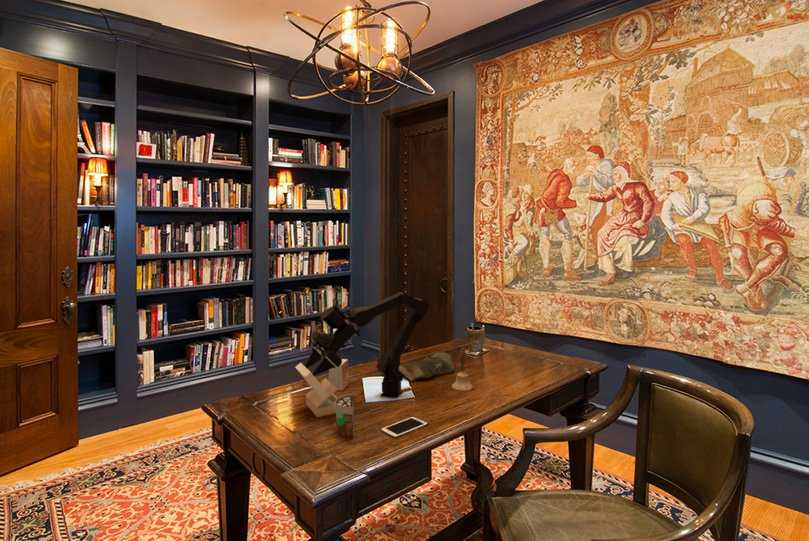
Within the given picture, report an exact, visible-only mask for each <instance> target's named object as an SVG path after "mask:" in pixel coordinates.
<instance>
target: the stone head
mask: <svg viewBox="0 0 809 541" xmlns="http://www.w3.org/2000/svg"><path fill="white" fill-rule="evenodd" d="M454 369H455V366H454V362H453V360H452V355H451V354H450V353H448V352H443V351H441V352H435V353H434V354H433V355H431V356H427V357H425V358H423V359H422V360H415V361H407V362H405V363H402V364H401V363H400V366H399V369H398V371H399V372H401V373H402V374H403V375H404V377H406V378H407V379H408V380H409V382H411V383H412V382H415V381H417V380H418V379H430V378H432V377H433V376H434V375H435V376H438V377H439V376H441V375H448V374H451V373H453V372H454Z"/></svg>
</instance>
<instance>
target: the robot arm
mask: <svg viewBox="0 0 809 541" xmlns="http://www.w3.org/2000/svg"><path fill="white" fill-rule="evenodd" d="M401 305H404V307H406V312H405V314H406V315H405V318H404V321H403V323H402V324H401V326H400V329H399V330H398V332H397V334H396V336H395V339H394V340H393V342H392V344H391V346H390V348H389V349H388V350H387V352H386V353H383V352H381V354H380V356H379V358H378V360H377V361H376V370H377V371H378V373H380V375H381V377H383V378H382V382H381V394H380V396H382V397H387V398H393V399H397V398H398V397H400V396H401V395H402V394H403V393H404V392H403V390H402V381H403V380H404V377H405V376H404V375H403V374H402V373H401V372H399V371H398V369H399V366H400V365H401V356H402V354H403V352H404V350H405V348H406V346H407V344H408V342H409V340H410V338H411V336H412V334H413V333H414V330H415V328H416V326H417V325H418V323H419V322H420V321H422V320H423V319H424V318H425V316H427V314H428V313H429V310H430V304H429V302H428V301H427V300H425V299H421V298H418V297H412V296H411V295H408V294H407V293H405V292H400V291H398V292H396V293H395V294H393V295H390V296H389V297H386V298H384V299H382V300H380V301H377V302H375V303H372V304H371V305H367V306H360V307H356V308H353V309H351V310H350V311H348V312H342V310H341V309H340V308H339V307H338V306H337V305H335V304H333V305H332V306H331V307H328V308H326V309H325V310H324V311H323V312H322V313H321V315H320V319H321V320H322V321H323V322H324V323H325V324H326V325H327V326H328V327H329V329H331V330H334V329H335V331H333V333H330V332H329V333H326V332H324V331H323V332H319V331H316V330H315V329H314V330H313V331H312V333H311V335H310V337H309V339H311V340H312V342H310V347H309V348H310V354H309V355H308V358H307V360H306V362H305V363H304V364H303V365H304V366H305V367H306V368H307V369H308V368H310V367H312V366H313V365H315V364H316V363H318V362H319V361H320V362H319V363H318V364H317V366H316V367H315V368H314V370H313V371H312V372H311V373H312V374H313V376H314V377H315V376H318V375H319V374H322V373H325V372H326V371H329V370H330V369H332V368H336V367H335V365H336V366H337V367H339V366H340V365H341V364H342V359H343V358H341V357H340V356H339V355H338V353H339V351H340V350H341V349H345V348H346V343H348V341H349V340H350V339H351V338H352V337H353V336H356V337H357V338H360V337H361V333H360V331H361V329H360V328H363V327H365V326H367V325H369V324H370V323H371V322H373V320H375V318H377V317H378V316H379V315H382V314H384V313H386V312H388V311H390V310H393V309H394V308H397V307H399V306H401ZM347 322H349V323H347ZM355 326H356V327H357V328H356V327H355ZM358 327H359V328H358Z"/></svg>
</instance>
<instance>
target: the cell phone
mask: <svg viewBox="0 0 809 541" xmlns="http://www.w3.org/2000/svg"><path fill="white" fill-rule="evenodd" d="M427 425H428V426H429V423H428V421H425V420H423V419H421V418H419V417H417V416H409V417H407V418H404V419H402V420H398V421H397V422H394V423H391V424H388V425H386V426H383V427H381V428H380V429H379V430H380V431H379V432H380V433H383V434H384V435H387V437H390V438H392V439H394V438H396V439H399V438H402V437H404V436H406V435H409V434H411V433H413V431H414V432H416V431H417V429H419V430H420V428H421V429H423V428H425V427H424V426H426V427H428V426H427ZM422 427H423V428H422ZM415 430H416V431H415ZM410 432H411V433H410ZM408 433H409V434H408ZM403 435H404V436H403ZM398 437H399V438H398Z"/></svg>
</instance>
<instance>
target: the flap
mask: <svg viewBox="0 0 809 541" xmlns="http://www.w3.org/2000/svg"><path fill="white" fill-rule="evenodd" d="M304 365H305V364H303V363H302V362H299V363H298V364H297V365H296V366H295V367H294V368H295V369H296V370H297V371H298V373H299V374H300V375H301V376H302V378H304V380H305V381H306V382H307V383H308V385H309V386H310V387H311V388H312V389H311V390H310V391H308V393H307V394H306V395H305V396H306V397H308V398H309V400H310V401H311V402H312V403H313V404H314V405H315V406H316V407H317V408H318V407H319V406H320V405H321V404H322V403H323V402H324V401H326V400H327V399H328V398H329V397H330V396H331V395H332V394H335V393H336V392H337V391H339V390H338V389H337V388H336V387H335V386H334V385H332V384H331V383H330V382H329V379H327V378H323V380H321V382H320V381H319V380H318V379H317V378H316V377H315V376H313V374H312V373H313V372H311V371H310V369H308V368H306V367H305V366H304Z"/></svg>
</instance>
